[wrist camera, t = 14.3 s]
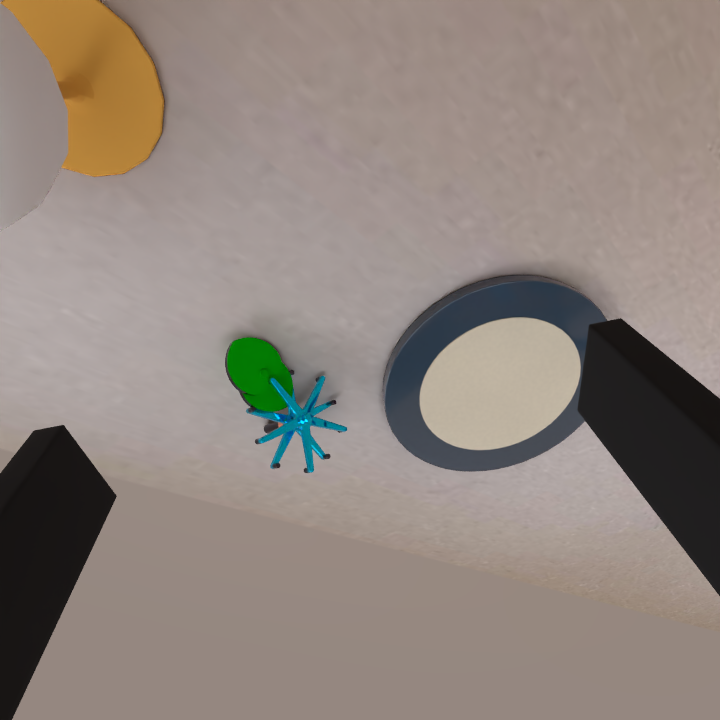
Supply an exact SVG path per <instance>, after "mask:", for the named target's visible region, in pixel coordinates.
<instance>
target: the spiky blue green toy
mask: <svg viewBox="0 0 720 720" xmlns="http://www.w3.org/2000/svg"><path fill="white" fill-rule="evenodd" d="M225 367H226V372H227V375H228V378H229V380H230V381H231V383H232V384H233V386H234V387H235V388H236V389H237V390H239V392H240V395H241V397H242V398H243V400H244V401H245V402H246V403H247V404H248V405H249V406H250V408H248V409H247V410H246V412H247V413H249V414H252V415H255V416H259V417H262V418H265V419H269V420H272V421H276V422H274V423H271V424H268V425H265V427H264V431H265V432H266V433H268V434H267V435H265V436H263V437H261V438H259V439H256V440H255V443H256V444H261V443H264V442H267V441H269V440H271V439H273V438H275V437H278V436H280V435H282V434H283V437H282V439H281V441H280V444H279V446H278V449H277V451H276V453H275V456H274V458H273V461H272V463H271V465H270V467H271V468H272V469H275V468H279V467H280V464H279V461H280V459H281V457H282V455H283V453H284V452H285V450H286V448H287V446H288V444H289V442H290V440H291V438H292V436H293V434H294V432H295V431H296V432H297V433H298V434H299V435H300V436H301V437H302V442H303V447H304V453H305V458H306V464H307V468H305V469H304V472H305V473H311V472H313V471H314V465H313V455H312V449H313V450H314V451H315V452H316V454H317V455H318V456H319V457H320V458H321V459H329V458H330V454H325V453H324V452H323V451H322V449H321V448H320V447H319V445H318V444H317V443H316V441H315V440H314V439H313V437H312V436H311V434H310V426H315V427H320V428H326V429H331V430H336V431H338V432H339V433H340V432H345V431H347V427H345V426H342V425H338V424H335V423H332V422H329V421H326V420H323V419H320V418H317V417H314V415H316V414H318V413H319V412H321V411H323V410H325V409H326V408H328V407H330V406H331V405H334V404H336V400H332V401H329V402H326V403H324V404H322V405H319V406H317V407H315V408H314V406H315V403H316V401H317V398H318V396H319V393H320V391H321V388H322V386H323V383H324V380H325V376H320V377H318V378H316V382H317V383H316V385H315V387H314V389H313V391H312V393H311V395H310V397H309V399H308V400H307V402H306V404H305V406H304V408H303V409H302V408H301V407H300V406H299V405H298V404H297V403H296V400H295V394H294V389H293V382H292V377H291V375H293V374H294V371H293V370H290V371H289V370H288V369H287V367H286V366H285V365H284V364H283V363H282V361H281V358H280V356H279V354H278V352H277V351H276V350H275V348H274V347H273V346H271V345H270V344H269V343H267V342H265V341H263V340H261V339H258V338H252V337H247V338H241V339H238V340H235V341H233V342H232V343H231V344H230V345H229V347H228V350H227V353H226V358H225ZM286 407H288V415H285V414H279V413H274V412H276V411H279V410H282V409H284V408H286Z"/></svg>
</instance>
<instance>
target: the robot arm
mask: <svg viewBox="0 0 720 720" xmlns="http://www.w3.org/2000/svg"><path fill="white" fill-rule="evenodd" d="M577 411H578V412H579V413H580V415H581V416H582V417H583V419H584V420H585V421H586V422H587V424H588V425H589V426H590V428H591V429H592V430H593V432H594V433H595V434H596V435H597V437H598V438H599V439H600V441H601V442H602V443H603V445H604V446H605V447H606V449H607V450H608V451H609V452H610V454H611V455H612V456H613V458H614V459H615V460H616V462H617V463H618V464H619V465H620V467H621V468H622V469H623V471H624V472H625V473H626V475H627V476H628V477H629V478H630V480H631V481H632V482H633V484H634V485H635V486H636V488H637V489H638V490H639V491H640V493H641V494H642V495H643V497H644V498H645V499H646V501H647V502H648V503H649V505H650V506H651V507H652V508H653V510H654V511H655V512H656V514H657V515H658V516H659V518H660V519H661V520H662V521H663V523H664V524H665V525H666V527H667V528H668V529H669V531H670V532H671V533H672V534H673V536H674V537H675V538H676V540H677V541H678V542H679V544H680V545H681V546H682V547H683V549H684V550H685V551H686V553H687V554H688V555H689V557H690V558H691V559H692V560H693V562H694V563H695V564H696V566H697V567H698V568H699V570H700V571H701V572H702V574H703V575H704V576H705V577H706V579H707V580H708V581H709V583H710V584H711V585H712V587H713V588H714V589H715V590H716V592H717V593H718V594H719V596H720V399H719V398H718V397H717V396H716V395H714V394H713V393H712V392H711V391H710V390H708V389H707V388H706V387H705V386H703V385H702V384H701V383H700V382H699V381H697V380H696V379H695V378H694V377H692V376H691V375H690V374H689V373H687V372H686V371H685V370H684V369H683V368H681V367H680V366H679V365H678V364H676V363H675V362H674V361H673V360H671V359H670V358H669V357H668V356H667V355H665V354H664V353H663V352H662V351H660V350H659V349H658V348H657V347H655V346H654V345H653V344H652V343H651V342H649V341H648V340H647V339H646V338H644V337H643V336H642V335H641V334H639V333H638V332H637V331H636V330H635V329H633V328H632V327H631V326H630V325H628V324H627V323H626V322H625V321H623V320H622V319H621V318H620V319H615V320H610V321H605V322H599V323H594V324H589V329H588V336H587V344H586V351H585V358H584V365H583V372H582V380H581V387H580V394H579V401H578V408H577ZM115 499H116V494H115V493H114V492H113V490H112V489H111V488H110V486H109V485H108V484H107V482H106V481H105V480H104V479H103V477H102V476H101V474H100V473H99V472H98V470H97V469H96V468H95V466H94V465H93V464H92V462H91V461H90V460H89V458H88V457H87V456H86V454H85V453H84V452H83V450H82V449H81V448H80V446H79V445H78V444H77V442H76V441H75V440H74V438H73V437H72V436H71V434H70V433H69V432H68V430H67V429H66V428H65V426H64V425H61V426H56V427H50V428H45V429H40V430H35V431H33V432H32V434H31V435H30V436H29V438H28V439H27V440H26V441H25V443H24V444H23V445H22V447H21V448H20V449H19V450H18V452H17V453H16V454H15V455H14V457H13V458H12V459H11V461H10V462H9V463H8V464H7V466H6V467H5V468H4V469H3V471H2V472H1V473H0V720H12V718H13V716H14V714H15V712H16V710H17V707H18V705H19V703H20V701H21V699H22V697H23V695H24V693H25V691H26V688H27V686H28V684H29V682H30V680H31V678H32V676H33V673H34V671H35V669H36V667H37V665H38V663H39V661H40V658H41V656H42V654H43V652H44V650H45V648H46V646H47V644H48V642H49V639H50V637H51V635H52V633H53V631H54V629H55V627H56V624H57V622H58V620H59V618H60V616H61V614H62V612H63V609H64V607H65V605H66V603H67V601H68V599H69V597H70V595H71V592H72V590H73V588H74V586H75V584H76V582H77V580H78V578H79V575H80V573H81V571H82V569H83V566H84V565H85V563H86V561H87V558H88V556H89V554H90V552H91V550H92V548H93V546H94V543H95V541H96V539H97V537H98V535H99V533H100V531H101V529H102V526H103V524H104V522H105V520H106V518H107V516H108V514H109V512H110V509H111V507H112V505H113V503H114V501H115Z"/></svg>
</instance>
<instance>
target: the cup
mask: <svg viewBox="0 0 720 720" xmlns="http://www.w3.org/2000/svg"><path fill="white" fill-rule="evenodd" d="M163 112H164V97H163V94H162V90H161V86H160V83H159V79H158V76H157V72H156V68H155V65H154V62H153V61H152V59H151V58H150V56H149V55H148V53H147V52H146V50H145V49H144V47H143V45H142V44H141V42H140V41H139V39H138V38H137V36H136V35H135V33H134V31H133V30H132V28H131V27H130V26H129V25H127V24H126V23H125V22H124V21H123V20H121V19H120V18H119V17H118V16H117V15H116V14H114V13H113V12H112V11H111V10H110V9H108V8H107V7H106V6H105V5H104V4H103V3H101V2H100V1H99V0H3V1H2V2H1V3H0V232H1V231H2V230H4V229H5V228H7V227H8V226H10V225H12V224H13V223H15V222H16V221H18V220H19V219H21V218H22V217H23V216H25V215H26V214H28V213H29V212H30V211H32V210H33V209H35V208H36V207H38V206H39V205H40V204H41V203H42V202H43V200H44V198H45V197H46V195H47V193H48V192H49V190H50V188H51V187H52V185H53V183H54V181H55V179H56V177H57V175H58V173H59V171H60V169H61V167H62V168H65V169H69V170H72V171H76V172H79V173H83V174H86V175H90V176H93V177H97V176H107V175H117V174H124V173H126V172H127V171H129V170H130V169H132V168H134V167H135V166H137V165H138V164H140V163H142V162H143V161H145V160H146V159H148V157H149V155H150V154H151V152H152V150H153V148H154V146H155V145H156V143H157V141H158V139H159V138H160V136H161V134H162V124H163Z"/></svg>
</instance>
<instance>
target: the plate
mask: <svg viewBox="0 0 720 720" xmlns="http://www.w3.org/2000/svg"><path fill="white" fill-rule="evenodd" d="M605 321H607V320H606V318H605V317H604V315H603V314H602V312H601V311H600V309H599V308H598V307H597V306H596V305H595V304H594V303H593V302H592V301H591V300H589V299H588V298H587V297H586V296H584V295H583V294H582V293H580V292H579V291H577V290H576V289H574V288H573V287H571V286H569V285H567V284H565V283H562V282H560V281H557V280H553V279H550V278H547V277H540V276H533V275H511V276H503V277H496V278H492V279H488V280H484V281H480V282H477V283H474V284H472V285H469V286H466V287H464V288H462V289H460V290H458V291H456V292H454V293H452V294H450V295H448V296H446V297H445V298H443V299H442V300H440V301H438V302H437V303H435V304H434V305H433V306H431V307H430V308H429V309H428V310H426V311H425V312H424V313H423V314H422V315H420V316H419V317H418V318H417V320H416V321H415V322H414V323H413V324H412V325H411V326H410V327H409V328H408V329H407V331H406V332H405V333H404V335H403V336H402V337H401V339H400V340H399V342H398V343H397V345H396V347H395V349H394V350H393V352H392V354H391V357H390V359H389V362H388V364H387V367H386V371H385V375H384V381H383V403H384V407H385V412H386V416H387V420H388V423H389V425H390V427H391V430H392V432H393V433H394V435H395V436H396V438H397V439H398V441H399V442H400V443H401V444H402V445H403V446H404V447H405V448H406V449H407V450H408V451H409V452H411V453H412V454H413V455H414V456H416V457H418V458H419V459H421V460H423V461H425V462H427V463H430V464H432V465H434V466H438V467H441V468H445V469H450V470H456V471H471V472H472V471H487V470H494V469H500V468H504V467H509V466H512V465H515V464H518V463H521V462H524V461H527V460H529V459H531V458H534V457H536V456H538V455H540V454H542V453H544V452H546V451H548V450H549V449H551V448H552V447H554V446H556V445H557V444H559V443H560V442H562V441H563V440H564V439H565V438H567V437H568V436H569V435H571V434H572V433H573V432H574V431H575V430H576V429H577V428H578V427H580V426H581V425H582V423H583V422H584V421H585V420H584V419H583V417H582V416H581V415H580V413H579V412H578V411H577V408H578V401H579V394H580V387H581V380H582V372H583V365H584V358H585V351H586V344H587V336H588V329H589V324H594V323H599V322H605Z"/></svg>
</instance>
